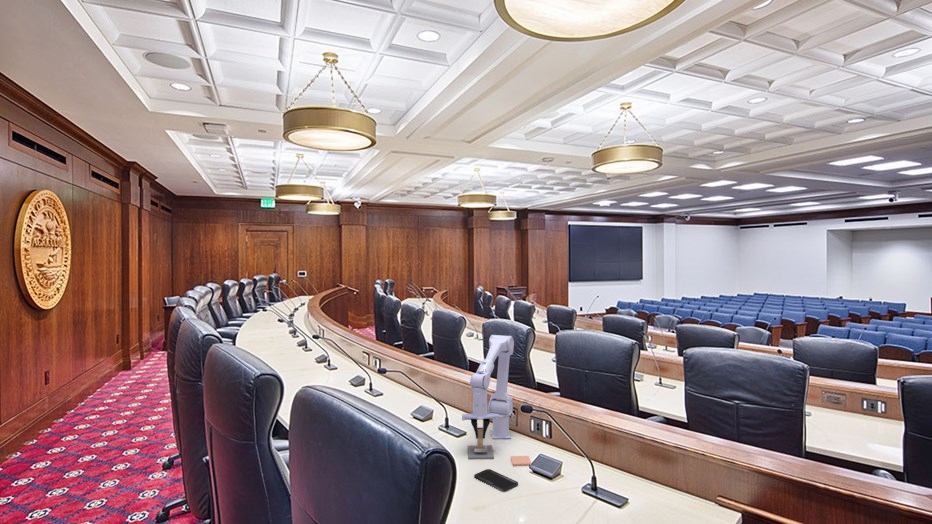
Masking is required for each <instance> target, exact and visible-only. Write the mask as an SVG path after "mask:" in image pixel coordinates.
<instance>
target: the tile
mask: <svg viewBox="0 0 932 524" xmlns="http://www.w3.org/2000/svg"><path fill="white" fill-rule="evenodd" d="M510 462H511V464H512V466H513V467H530V466H529V465H530V464H531V463H532V461H531V459H530V456H529V455H511V456H510Z"/></svg>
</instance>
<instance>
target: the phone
mask: <svg viewBox="0 0 932 524" xmlns="http://www.w3.org/2000/svg"><path fill="white" fill-rule="evenodd" d="M473 478H474V479H475V478H476V480H477V479H478V480H477V481H479V480H480V481H479V482H481V481H482V482H481V483H483V482H484V483H483V484H485V483H486V484H485V485H487V486H489V485H490V486H489V487H491V486H492V487H491V488H493V487H494V489H495V488H496V489H495V490H497V489H498V490H497V491H499V492H502V493H506V492H508V491H511V490H512V489H514V488H516V487H518V486H519V482H518V481H517V480H515V479H512V478H510V477H508V476H506V475H504V474H501V473H499V472H497V471H495V470H493V469H490V468H486V469H484V470H482V471H480V472H477V473H475V474H473Z"/></svg>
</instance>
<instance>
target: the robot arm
mask: <svg viewBox="0 0 932 524" xmlns="http://www.w3.org/2000/svg"><path fill="white" fill-rule="evenodd" d="M488 345H489V349H488V352H487V354H486V357H485V359H482V360H481V362H480V364H479V366H478V368H477V370H476V372H475V373H473V374H472V375H471V376H470V381H469V384H470V387H471V393H472V413H462V414H461V420H462V421H470V423H471V426H472V428H473V431H474V434H475V439H476V440H477V439H478V433H477V428H478V420H479V421H480V420H482V428H483V440H485V439H486V434H487V429H488V427H489V426H490V422H491V421H490V420H492V429H491V430H490V433H491V437H492V439H493V440H496V439H497V440H498V439H499V440H501V439H511V438H512V437H511V434H510V417H511V415H513V411H514V404H513V398H512V396H510V394H508V383H509V382H508V381H509V370H510V369H509V368H510V358H511V357H510V356H512V355H513V354H514V350H515V349H514V346H515V341H514V338H513V336H512V335H502V334H500V335H498V334H491V335H490V337H489V340H488ZM497 357H498V362H497V363H498V364H497V374H496V386H495V387H496V388H495V392H494V393H492V394H491V395H490V398H489V401H488V389H489V386H490V381H491V374H492V373H493V372H494V368H495V364H494V363H495V361H496V359H497Z"/></svg>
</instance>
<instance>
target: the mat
mask: <svg viewBox="0 0 932 524" xmlns="http://www.w3.org/2000/svg"><path fill="white" fill-rule="evenodd" d="M485 445H486V446H487V452H474V446H478V445H467V456H468V457H467V459H468V460H495V455H494V451H493V445H491V444H489V445H488V444H485Z"/></svg>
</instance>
